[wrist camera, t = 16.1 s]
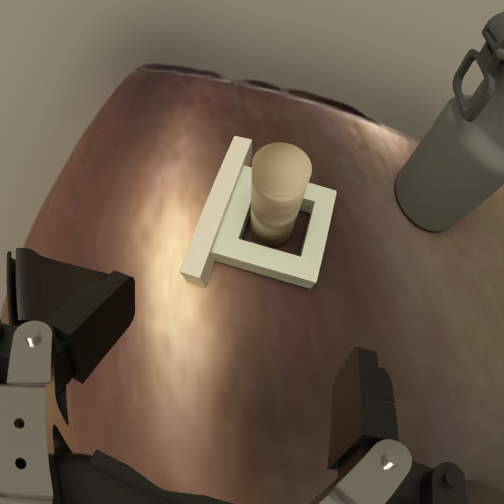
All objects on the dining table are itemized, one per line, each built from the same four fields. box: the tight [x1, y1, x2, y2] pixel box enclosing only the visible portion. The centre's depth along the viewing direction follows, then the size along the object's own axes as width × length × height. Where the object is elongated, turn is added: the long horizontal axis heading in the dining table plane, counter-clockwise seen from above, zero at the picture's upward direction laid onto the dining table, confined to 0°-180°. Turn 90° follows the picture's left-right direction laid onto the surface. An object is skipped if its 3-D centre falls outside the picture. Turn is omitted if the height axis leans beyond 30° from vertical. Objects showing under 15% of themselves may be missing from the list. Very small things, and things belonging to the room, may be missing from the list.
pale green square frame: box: [212, 165, 337, 289], centre depth 32 cm, size 10×10×3 cm
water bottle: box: [396, 12, 504, 231], centre depth 22 cm, size 10×10×28 cm
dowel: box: [251, 142, 312, 248], centre depth 28 cm, size 4×4×12 cm
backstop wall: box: [179, 136, 252, 287], centre depth 32 cm, size 2×16×4 cm, turn 163°
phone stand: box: [7, 248, 109, 327], centre depth 25 cm, size 9×6×12 cm, turn 105°
